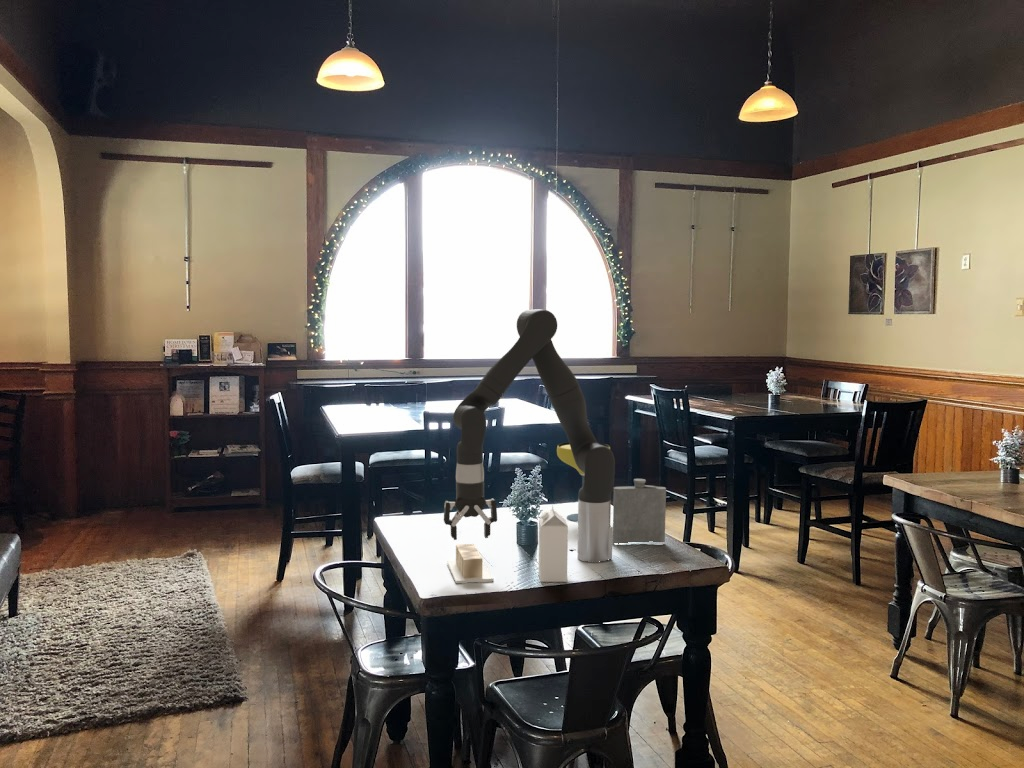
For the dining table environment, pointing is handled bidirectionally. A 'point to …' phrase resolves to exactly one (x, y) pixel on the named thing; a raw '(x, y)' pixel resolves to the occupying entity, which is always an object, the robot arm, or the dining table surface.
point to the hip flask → (639, 513)
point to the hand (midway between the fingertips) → (470, 538)
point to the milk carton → (553, 547)
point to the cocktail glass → (567, 457)
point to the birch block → (469, 561)
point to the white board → (459, 578)
